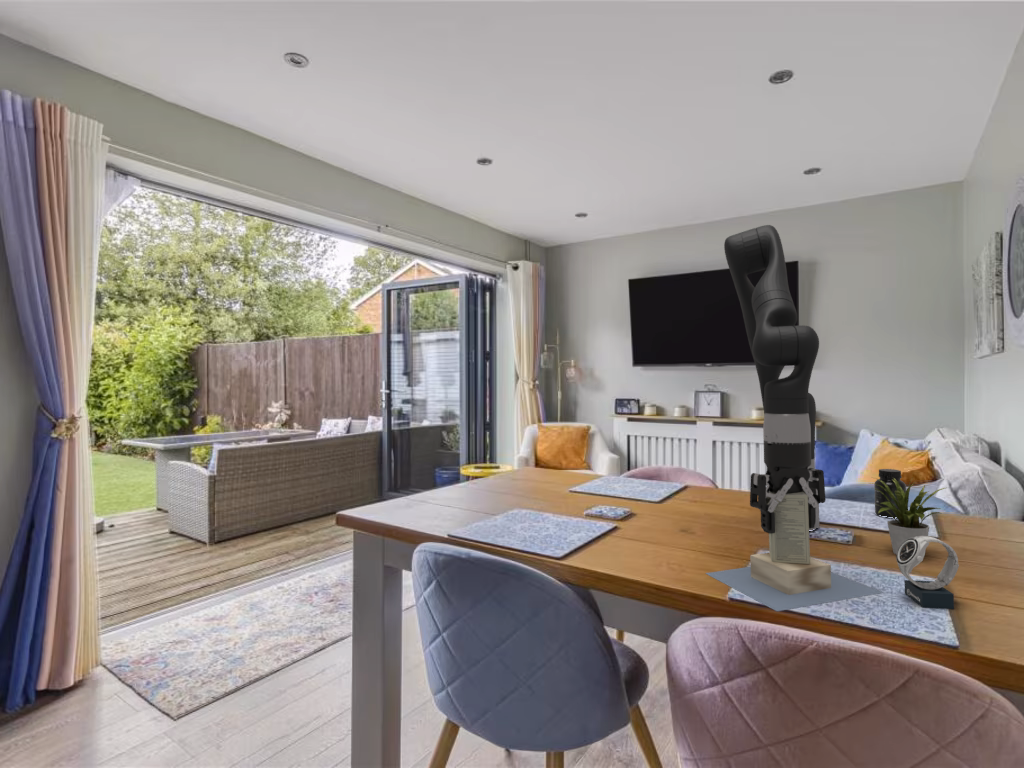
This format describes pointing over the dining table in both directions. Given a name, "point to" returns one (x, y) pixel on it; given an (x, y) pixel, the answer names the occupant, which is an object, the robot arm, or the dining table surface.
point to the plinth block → (791, 574)
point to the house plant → (906, 515)
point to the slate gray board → (782, 601)
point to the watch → (927, 591)
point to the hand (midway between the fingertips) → (788, 529)
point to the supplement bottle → (887, 478)
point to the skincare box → (791, 530)
